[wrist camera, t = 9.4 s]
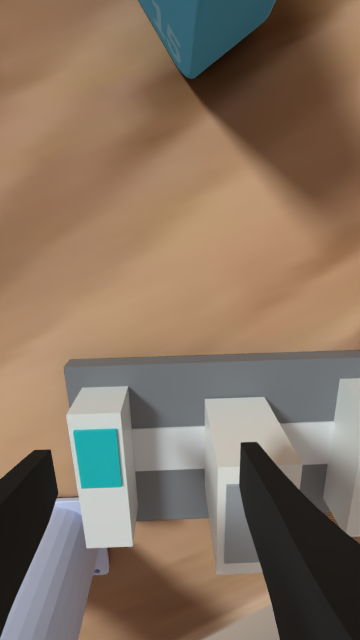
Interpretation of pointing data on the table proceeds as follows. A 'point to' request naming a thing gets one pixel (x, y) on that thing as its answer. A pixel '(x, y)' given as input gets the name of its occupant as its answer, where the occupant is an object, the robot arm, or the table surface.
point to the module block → (223, 474)
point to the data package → (203, 28)
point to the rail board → (189, 432)
